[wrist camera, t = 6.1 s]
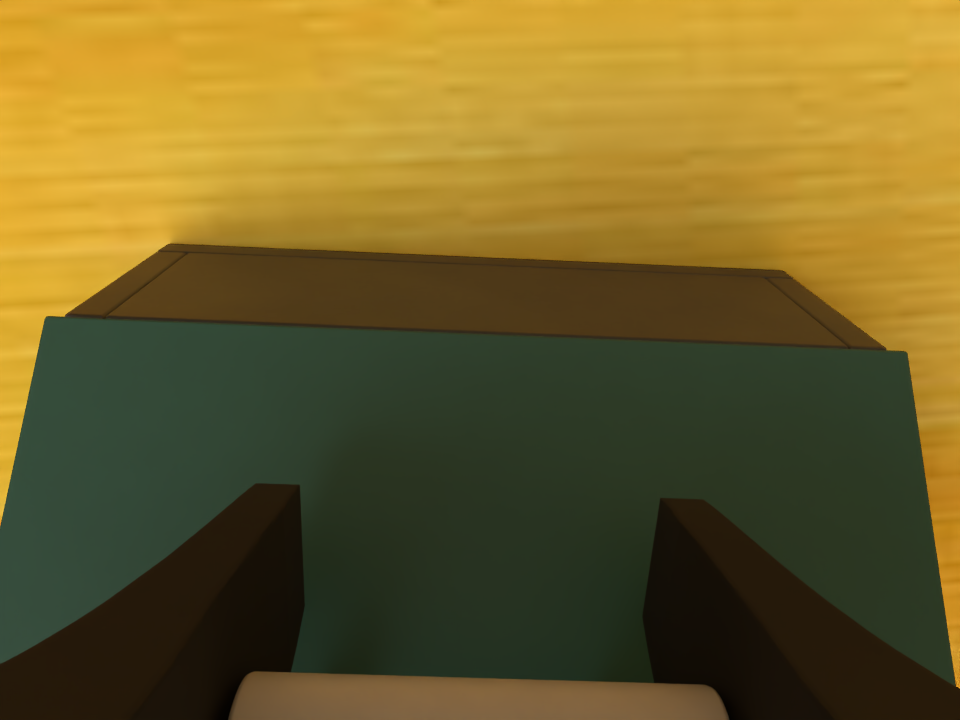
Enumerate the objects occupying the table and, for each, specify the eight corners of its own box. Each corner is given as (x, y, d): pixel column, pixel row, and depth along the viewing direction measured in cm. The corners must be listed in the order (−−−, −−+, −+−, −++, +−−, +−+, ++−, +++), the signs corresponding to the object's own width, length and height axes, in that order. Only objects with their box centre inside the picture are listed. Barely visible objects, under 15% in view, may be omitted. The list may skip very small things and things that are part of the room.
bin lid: (985, 1055, 11) (1345, 1336, 7) (-86, 1036, 11) (-465, 1322, 6) (890, 361, 14) (1090, 238, 10) (60, 327, 14) (-121, 184, 9)
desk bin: (721, 597, 23) (789, 749, 18) (199, 580, 22) (124, 731, 17) (783, 269, 19) (889, 348, 14) (167, 243, 19) (62, 314, 14)
